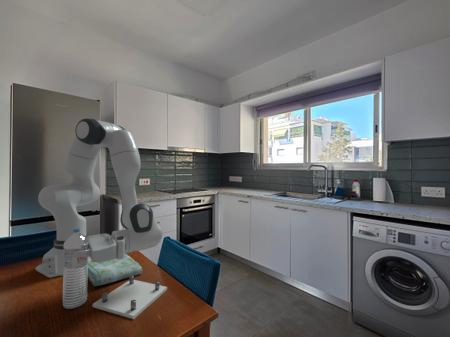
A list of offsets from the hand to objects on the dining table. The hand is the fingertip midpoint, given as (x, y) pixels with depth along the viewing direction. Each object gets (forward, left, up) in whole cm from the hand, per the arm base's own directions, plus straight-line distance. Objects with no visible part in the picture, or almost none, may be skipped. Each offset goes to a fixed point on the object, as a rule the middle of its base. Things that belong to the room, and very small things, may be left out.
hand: (72, 251), depth 71 cm
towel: (-6, +22, -19) cm, 30 cm away
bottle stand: (+16, +10, -18) cm, 26 cm away
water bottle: (0, +1, -18) cm, 18 cm away
